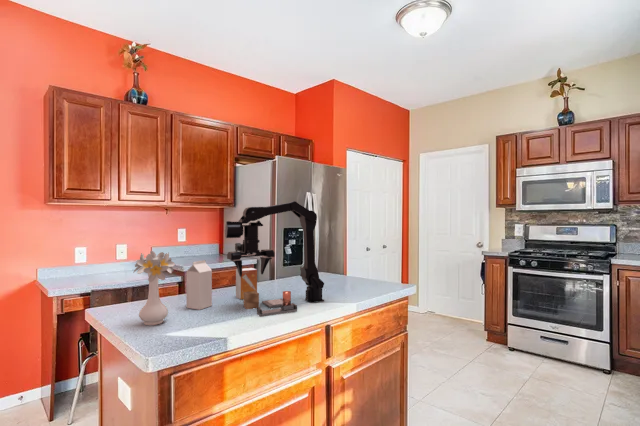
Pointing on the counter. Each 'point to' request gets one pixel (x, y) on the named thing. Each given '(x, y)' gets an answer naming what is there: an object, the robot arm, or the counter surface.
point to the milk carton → (199, 286)
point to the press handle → (286, 301)
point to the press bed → (273, 303)
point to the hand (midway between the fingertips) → (251, 275)
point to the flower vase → (154, 286)
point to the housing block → (251, 300)
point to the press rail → (275, 311)
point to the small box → (246, 282)
